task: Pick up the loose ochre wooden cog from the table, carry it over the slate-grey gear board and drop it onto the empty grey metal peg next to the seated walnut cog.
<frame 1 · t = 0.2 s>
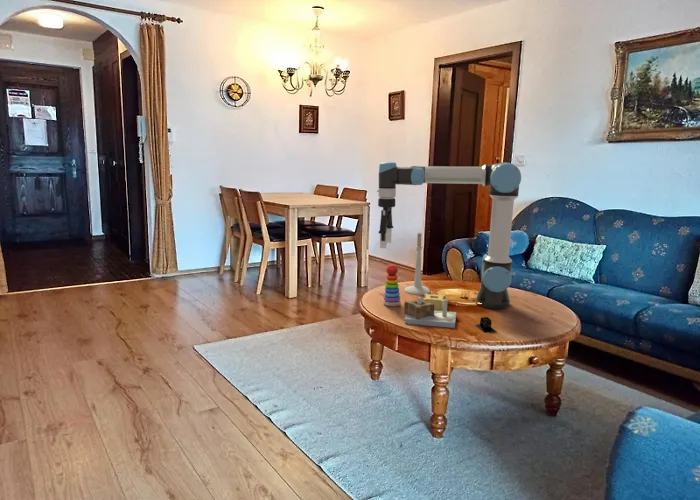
hand: (385, 245, 224), 27 cm above the table, tool pointing down, fingers open, 13 cm apart
ochre cog: (433, 307, 225), on the table
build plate: (485, 329, 200), on the table
walnut cog: (419, 314, 209), resting on gear board
gear board: (430, 320, 209), on the table
candlestick: (417, 291, 251), on the table
stacking toy: (391, 304, 229), on the table
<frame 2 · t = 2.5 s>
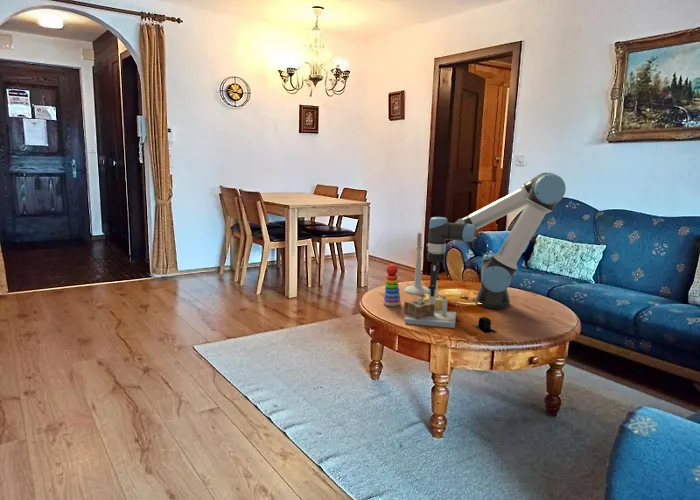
hand: (433, 298, 224), 4 cm above the table, tool pointing down, fingers open, 13 cm apart
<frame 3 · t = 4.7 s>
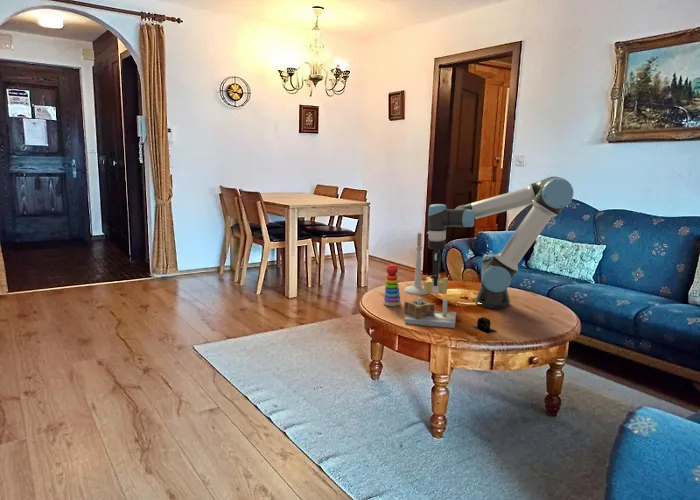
hand: (436, 290, 223), 8 cm above the table, tool pointing down, fingers closed on ochre cog, 8 cm apart
ochre cog: (435, 290, 223), point 8 cm above the table, touching gripper
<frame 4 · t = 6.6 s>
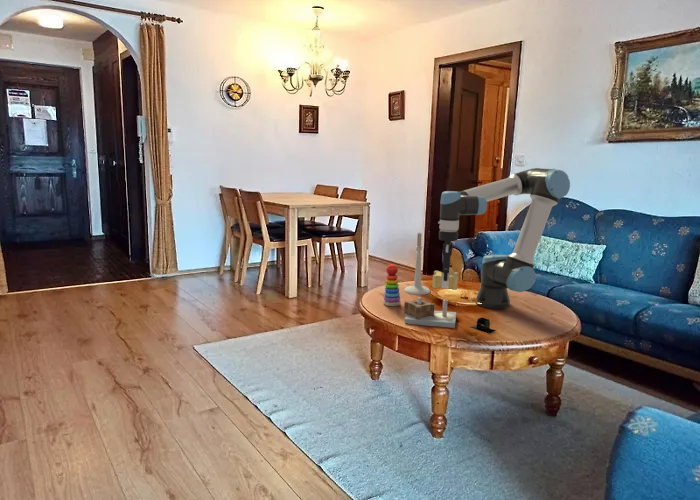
hand: (445, 285, 204), 15 cm above the table, tool pointing down, fingers closed on ochre cog, 8 cm apart
ochre cog: (444, 286, 204), point 15 cm above the table, touching gripper
when the fingers open (5 cm above the table, at t = 8.6 s): ochre cog drops 3 cm, resting on gear board.
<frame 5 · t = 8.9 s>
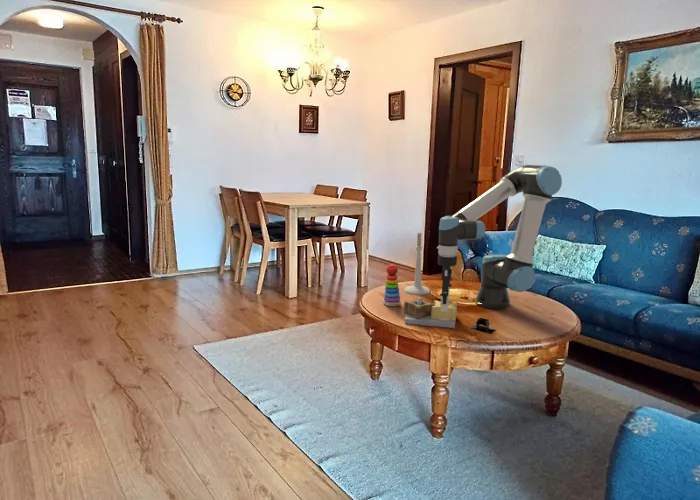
hand: (444, 306, 206), 6 cm above the table, tool pointing down, fingers open, 12 cm apart
ochre cog: (443, 316, 207), point 2 cm above the table, touching gear board
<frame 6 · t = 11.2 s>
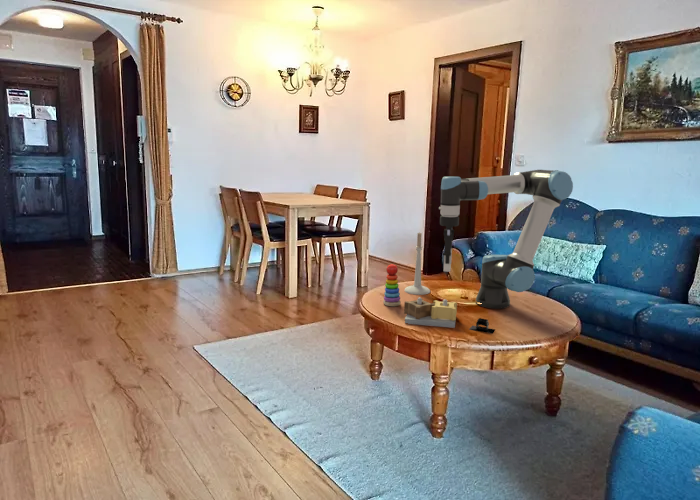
hand: (447, 267, 204), 23 cm above the table, tool pointing down, fingers open, 13 cm apart
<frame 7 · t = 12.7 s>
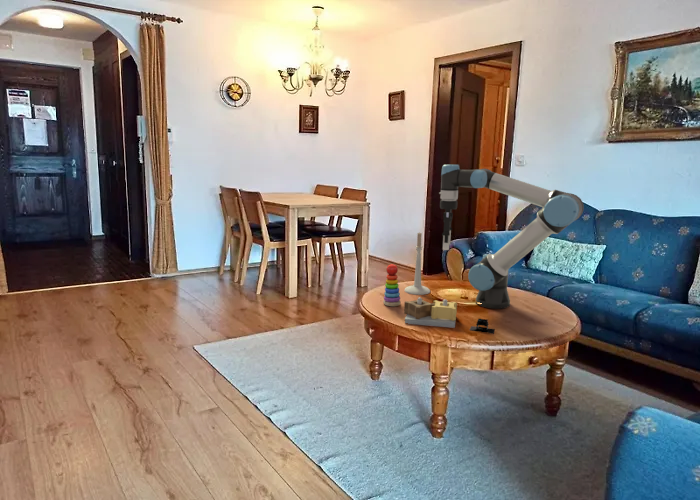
hand: (446, 247, 225), 27 cm above the table, tool pointing down, fingers open, 13 cm apart
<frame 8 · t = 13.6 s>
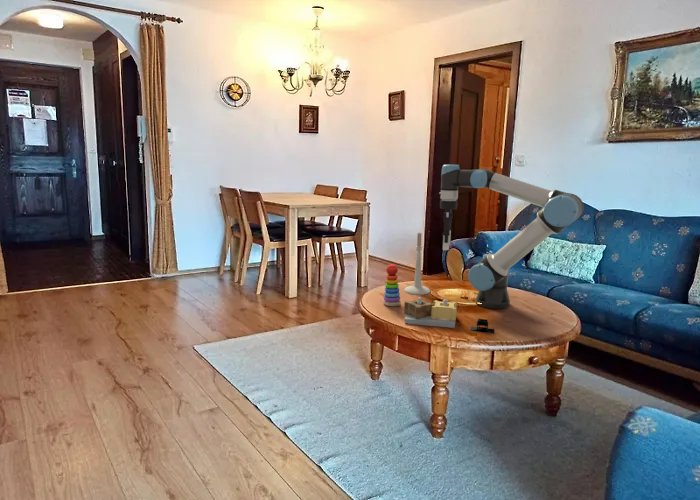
hand: (446, 247, 225), 27 cm above the table, tool pointing down, fingers open, 13 cm apart
at the end: ochre cog 0.2 cm from the target spot, point 2.2 cm above the table; ochre cog tilted 0°; the gripper is holding nothing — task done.
